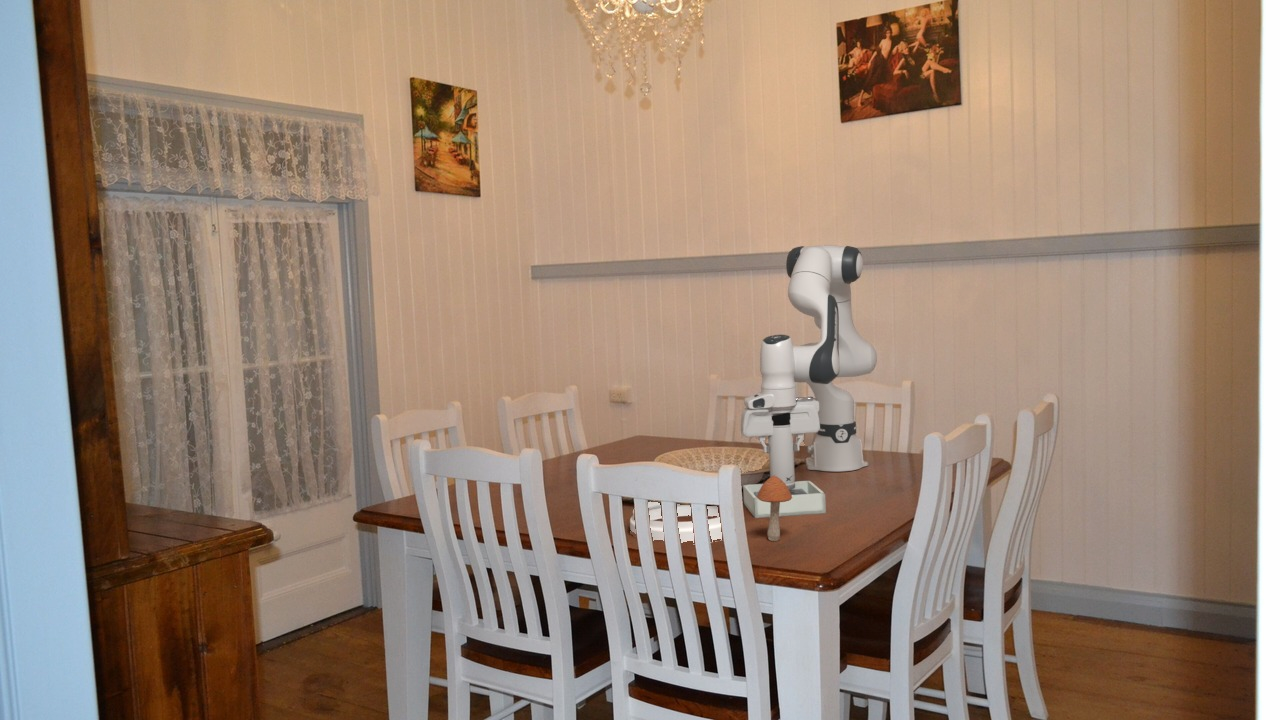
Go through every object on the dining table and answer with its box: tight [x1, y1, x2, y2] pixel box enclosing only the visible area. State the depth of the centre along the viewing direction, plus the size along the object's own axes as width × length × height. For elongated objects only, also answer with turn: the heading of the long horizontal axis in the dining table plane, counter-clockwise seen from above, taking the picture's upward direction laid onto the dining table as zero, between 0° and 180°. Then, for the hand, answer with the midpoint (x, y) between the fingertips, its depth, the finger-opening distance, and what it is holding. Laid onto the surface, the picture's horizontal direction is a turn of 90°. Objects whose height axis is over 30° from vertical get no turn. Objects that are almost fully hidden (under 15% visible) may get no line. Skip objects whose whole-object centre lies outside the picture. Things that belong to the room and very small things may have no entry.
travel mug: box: [767, 413, 796, 490], centre depth 244 cm, size 6×7×20 cm
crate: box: [742, 480, 827, 519], centre depth 245 cm, size 16×18×5 cm
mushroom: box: [757, 475, 792, 542], centre depth 215 cm, size 8×8×15 cm
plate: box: [629, 501, 723, 543], centre depth 229 cm, size 27×27×6 cm
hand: (781, 451), depth 244 cm, fingers closed on travel mug, 6 cm apart
